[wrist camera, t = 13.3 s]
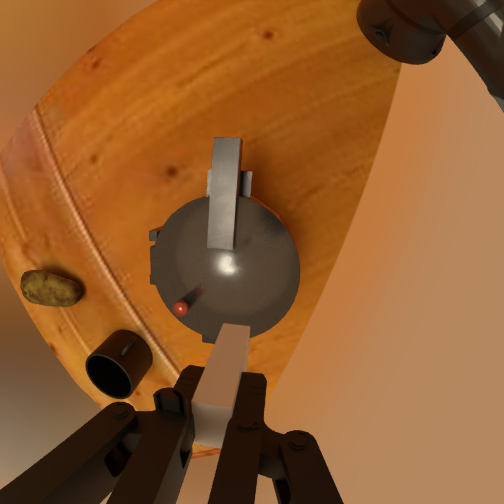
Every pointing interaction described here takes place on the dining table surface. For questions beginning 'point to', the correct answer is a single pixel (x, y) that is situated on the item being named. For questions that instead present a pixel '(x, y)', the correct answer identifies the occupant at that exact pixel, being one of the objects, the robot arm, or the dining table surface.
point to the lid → (225, 256)
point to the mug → (119, 364)
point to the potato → (49, 289)
